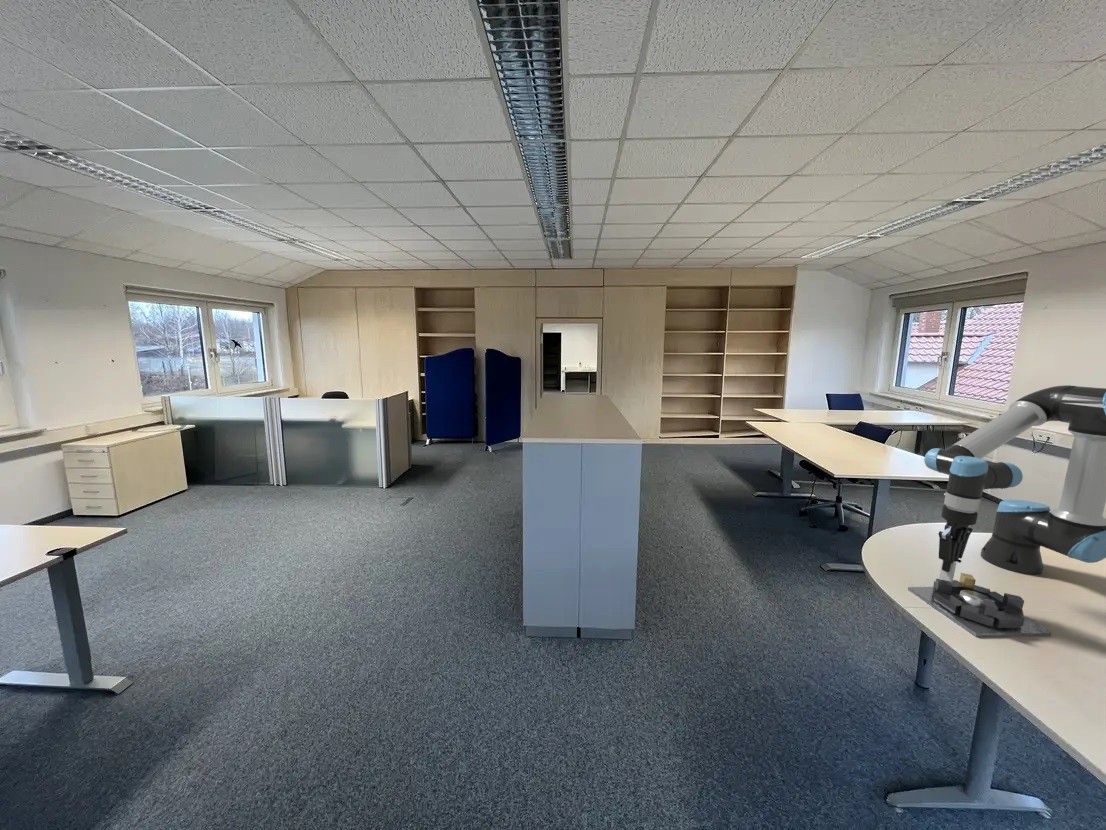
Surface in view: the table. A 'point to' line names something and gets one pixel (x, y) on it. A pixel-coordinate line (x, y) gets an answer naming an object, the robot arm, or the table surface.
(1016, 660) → the table surface
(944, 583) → the octagonal block ring
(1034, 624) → the base plate
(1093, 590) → the table surface
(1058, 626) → the table surface
